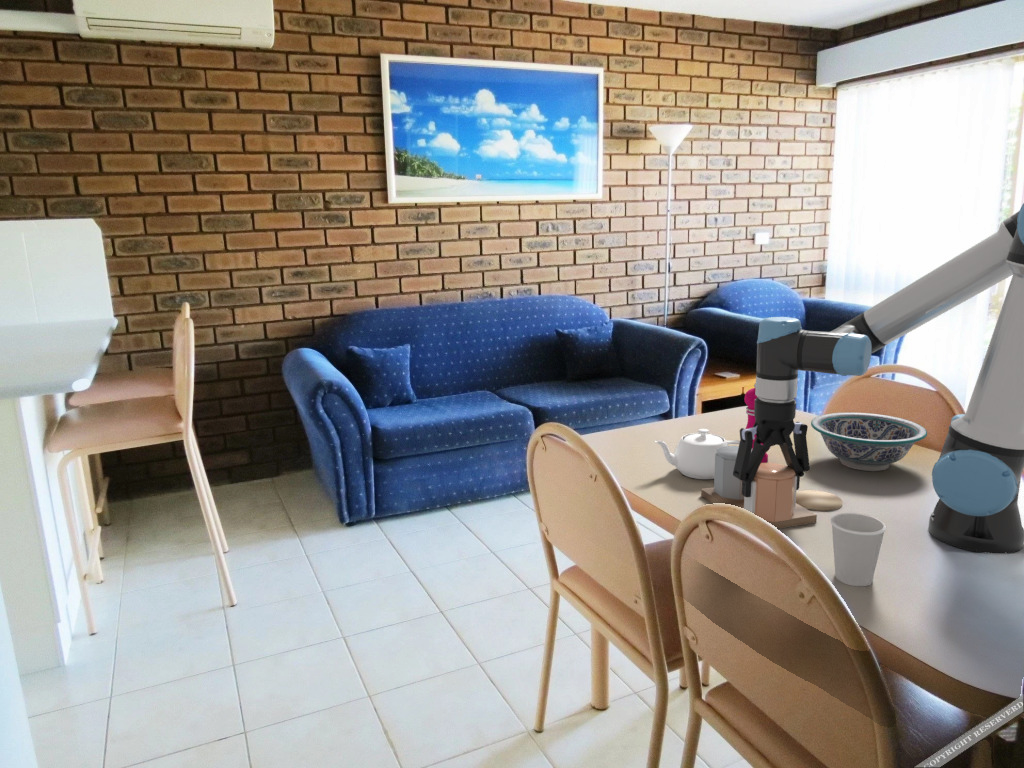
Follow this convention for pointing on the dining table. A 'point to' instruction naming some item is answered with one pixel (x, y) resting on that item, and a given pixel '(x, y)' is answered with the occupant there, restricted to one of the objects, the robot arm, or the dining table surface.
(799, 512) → the board
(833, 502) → the coaster
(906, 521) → the dining table surface
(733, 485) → the grey faceted canister
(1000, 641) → the dining table surface
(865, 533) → the dixie cup
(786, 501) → the peach faceted canister
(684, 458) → the teapot
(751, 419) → the pepper mill
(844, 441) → the bowl
